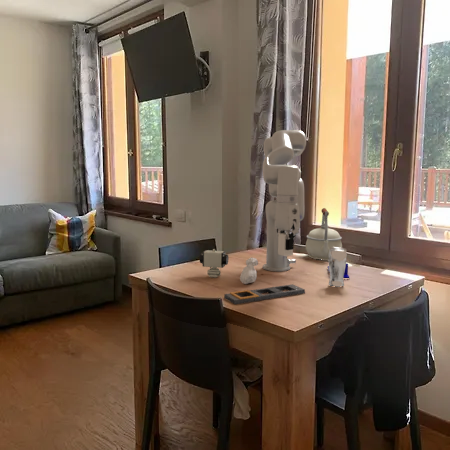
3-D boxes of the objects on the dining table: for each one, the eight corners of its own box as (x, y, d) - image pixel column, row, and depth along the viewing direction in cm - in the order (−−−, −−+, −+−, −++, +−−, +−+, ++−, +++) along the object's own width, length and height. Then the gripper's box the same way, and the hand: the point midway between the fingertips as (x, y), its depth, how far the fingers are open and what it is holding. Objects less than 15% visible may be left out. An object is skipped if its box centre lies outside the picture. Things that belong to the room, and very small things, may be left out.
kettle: (304, 252, 244) (306, 206, 241) (339, 253, 242) (341, 207, 238) (306, 263, 220) (308, 212, 216) (344, 264, 217) (347, 213, 214)
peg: (286, 253, 171) (287, 232, 170) (292, 255, 168) (293, 234, 167) (277, 254, 169) (278, 233, 168) (284, 256, 166) (284, 234, 165)
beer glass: (335, 288, 176) (337, 251, 174) (323, 284, 183) (325, 248, 180) (348, 286, 180) (350, 249, 177) (337, 282, 186) (338, 246, 184)
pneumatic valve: (225, 278, 190) (226, 251, 188) (199, 277, 192) (199, 249, 191) (228, 275, 195) (229, 248, 193) (202, 273, 198) (202, 247, 196)
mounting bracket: (327, 269, 208) (327, 257, 208) (343, 270, 208) (343, 257, 207) (331, 280, 191) (332, 266, 190) (349, 280, 190) (349, 267, 189)
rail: (292, 287, 177) (292, 283, 177) (304, 293, 170) (304, 288, 170) (224, 298, 164) (224, 293, 163) (234, 304, 157) (235, 299, 156)
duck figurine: (250, 291, 180) (268, 269, 179) (235, 280, 179) (253, 258, 178) (247, 283, 192) (263, 262, 191) (233, 272, 191) (249, 251, 190)
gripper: (309, 201, 160) (307, 251, 163) (282, 197, 175) (281, 243, 177) (292, 202, 157) (290, 253, 159) (266, 198, 171) (265, 245, 174)
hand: (285, 247), depth 168 cm, fingers closed on peg, 3 cm apart
